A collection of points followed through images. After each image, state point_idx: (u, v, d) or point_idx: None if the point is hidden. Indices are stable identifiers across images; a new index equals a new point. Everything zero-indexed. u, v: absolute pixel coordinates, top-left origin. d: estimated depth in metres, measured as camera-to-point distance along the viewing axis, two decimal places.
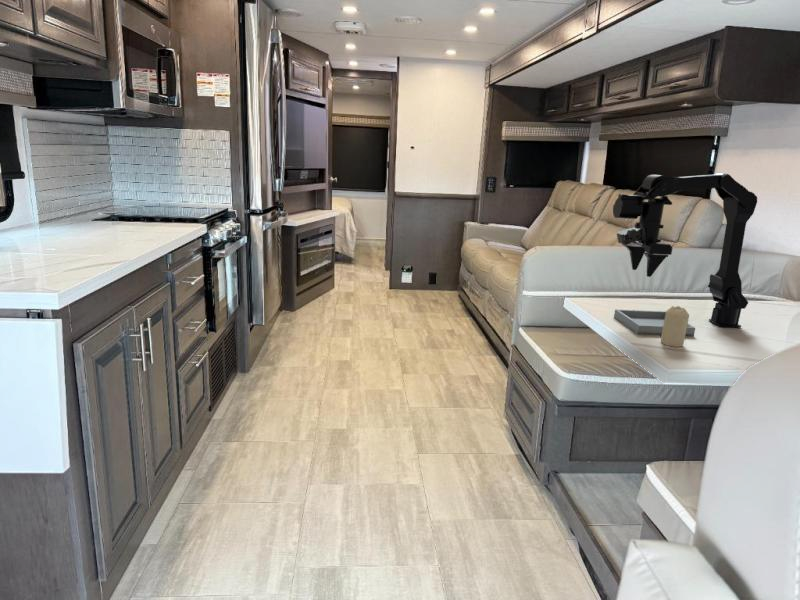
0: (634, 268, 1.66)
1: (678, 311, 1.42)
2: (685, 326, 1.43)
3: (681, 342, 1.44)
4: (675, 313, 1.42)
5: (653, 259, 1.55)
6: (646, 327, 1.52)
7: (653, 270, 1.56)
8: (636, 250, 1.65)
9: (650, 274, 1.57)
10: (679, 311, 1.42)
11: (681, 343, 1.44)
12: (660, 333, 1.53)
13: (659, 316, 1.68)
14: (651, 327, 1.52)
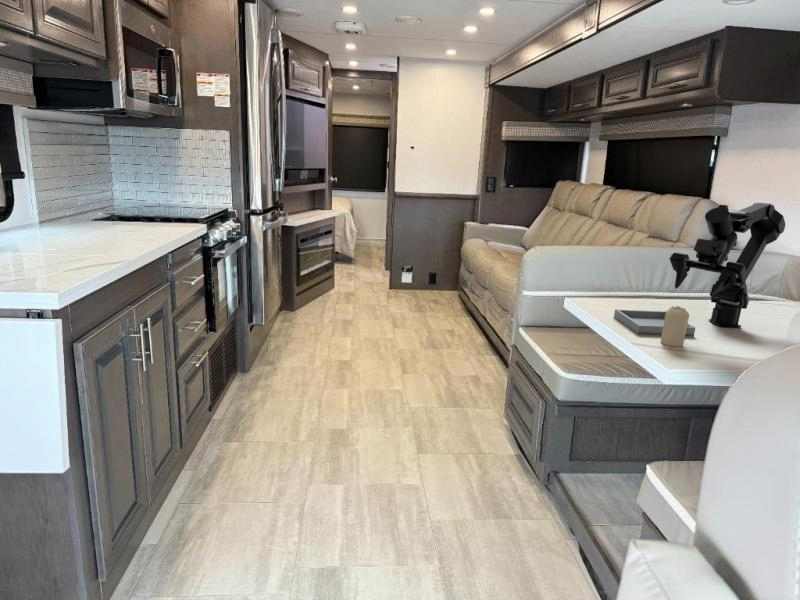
0: (677, 286, 1.51)
1: (678, 311, 1.42)
2: (685, 326, 1.43)
3: (681, 342, 1.44)
4: (675, 313, 1.42)
5: (724, 280, 1.44)
6: (646, 327, 1.52)
7: (717, 291, 1.44)
8: (684, 271, 1.53)
9: (713, 294, 1.44)
10: (679, 311, 1.42)
11: (681, 343, 1.44)
12: (660, 333, 1.53)
13: (659, 316, 1.68)
14: (651, 327, 1.52)
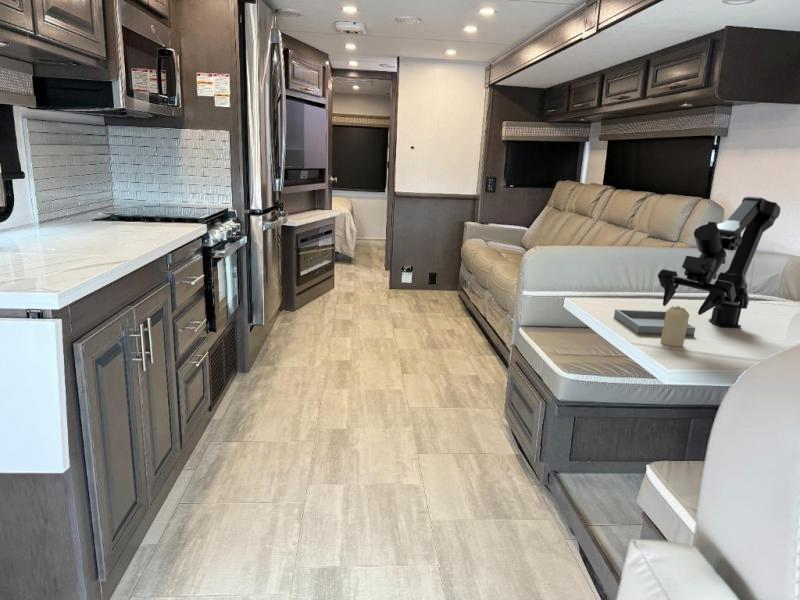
0: (665, 303, 1.48)
1: (678, 311, 1.42)
2: (685, 326, 1.43)
3: (681, 342, 1.44)
4: (675, 313, 1.42)
5: (712, 299, 1.42)
6: (646, 327, 1.52)
7: (705, 310, 1.42)
8: (672, 288, 1.50)
9: (701, 312, 1.41)
10: (679, 311, 1.42)
11: (681, 343, 1.44)
12: (660, 333, 1.53)
13: (659, 316, 1.68)
14: (651, 327, 1.52)
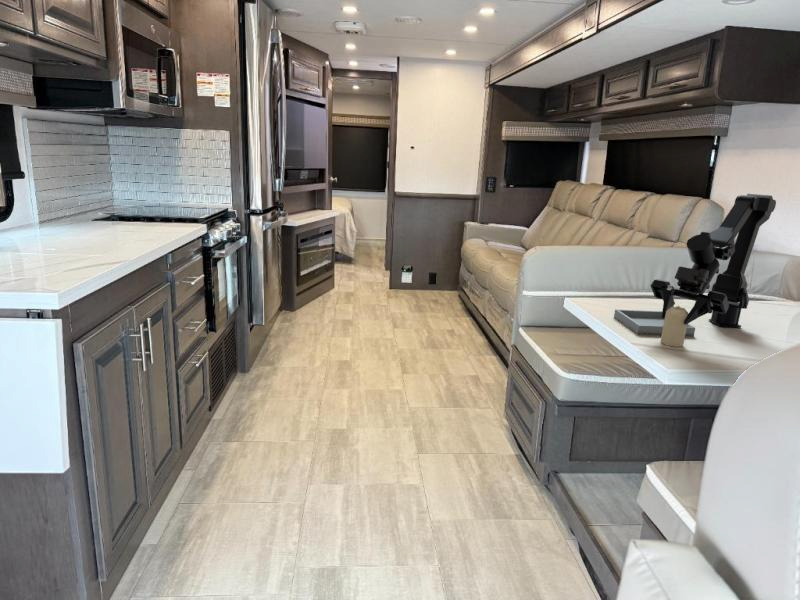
0: (664, 316, 1.46)
1: (678, 311, 1.42)
2: (685, 326, 1.43)
3: (681, 342, 1.44)
4: (675, 313, 1.42)
5: (698, 308, 1.42)
6: (646, 327, 1.52)
7: (691, 319, 1.42)
8: (671, 300, 1.47)
9: (687, 322, 1.41)
10: (679, 311, 1.42)
11: (681, 343, 1.44)
12: (660, 333, 1.53)
13: (659, 316, 1.68)
14: (651, 327, 1.52)
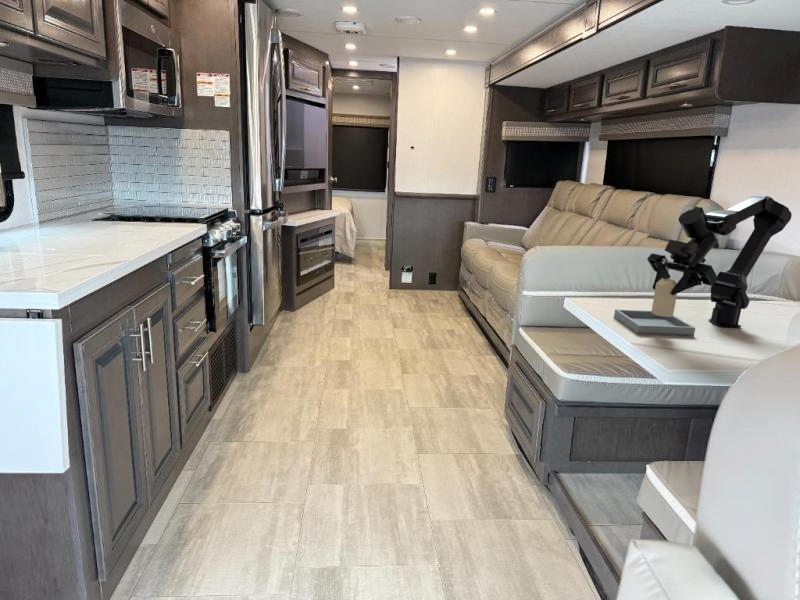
0: (654, 287, 1.53)
1: (666, 282, 1.49)
2: (673, 297, 1.49)
3: (670, 313, 1.50)
4: (663, 284, 1.49)
5: (686, 280, 1.47)
6: (646, 327, 1.52)
7: (679, 290, 1.48)
8: (664, 272, 1.54)
9: (674, 292, 1.48)
10: (667, 282, 1.49)
11: (669, 313, 1.50)
12: (660, 333, 1.53)
13: (659, 316, 1.68)
14: (651, 327, 1.52)
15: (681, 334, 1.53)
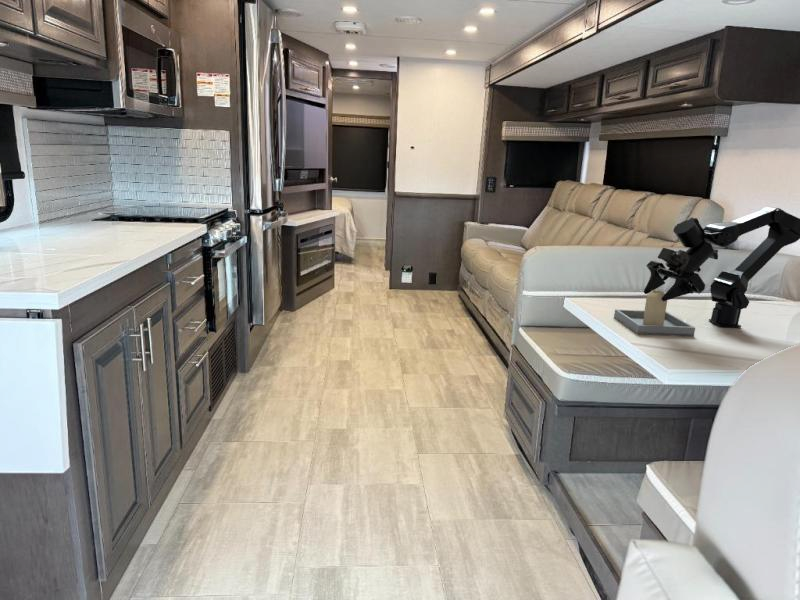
0: (645, 292, 1.61)
1: (654, 294, 1.57)
2: (661, 308, 1.57)
3: (658, 323, 1.58)
4: (651, 296, 1.57)
5: (678, 288, 1.53)
6: (646, 327, 1.52)
7: (670, 297, 1.54)
8: (657, 278, 1.62)
9: (665, 299, 1.54)
10: (655, 294, 1.57)
11: (658, 323, 1.58)
12: (660, 333, 1.53)
13: None
14: (651, 327, 1.52)
15: (681, 334, 1.53)
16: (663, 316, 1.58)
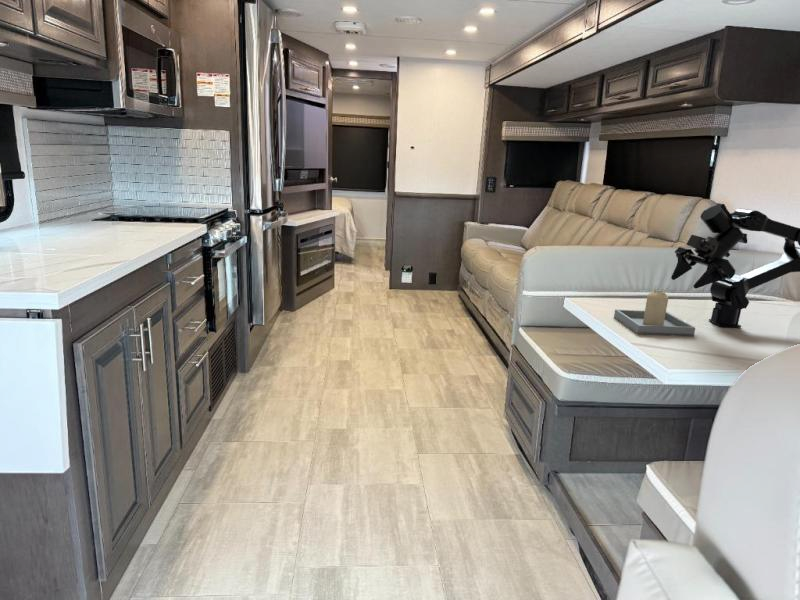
0: (673, 278, 1.64)
1: (655, 294, 1.57)
2: (662, 308, 1.57)
3: (658, 323, 1.58)
4: (652, 296, 1.57)
5: (710, 275, 1.54)
6: (646, 327, 1.52)
7: (702, 284, 1.55)
8: (684, 264, 1.64)
9: (697, 286, 1.56)
10: (656, 294, 1.57)
11: (658, 324, 1.58)
12: (660, 333, 1.53)
13: None
14: (651, 327, 1.52)
15: (681, 334, 1.53)
16: (663, 316, 1.58)
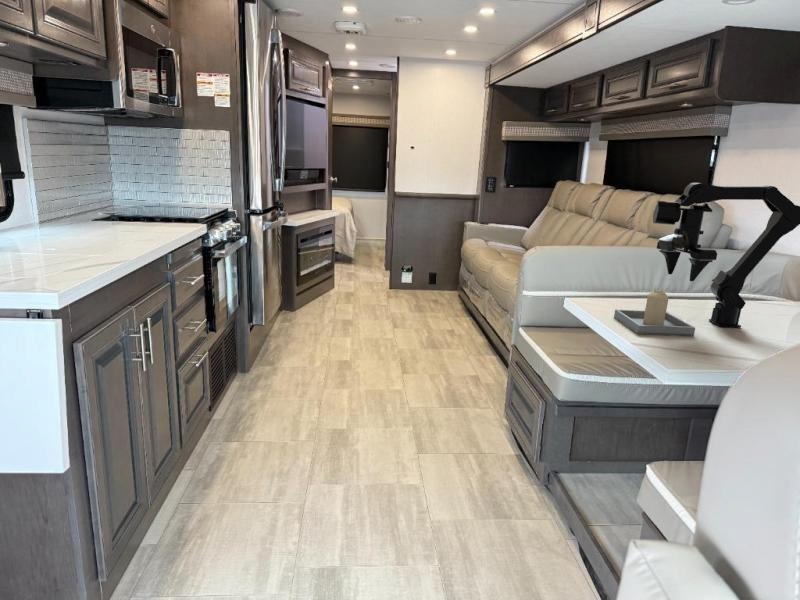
0: (670, 273, 1.71)
1: (655, 294, 1.57)
2: (662, 308, 1.57)
3: (658, 323, 1.58)
4: (652, 296, 1.57)
5: (697, 264, 1.60)
6: (646, 327, 1.52)
7: (696, 275, 1.61)
8: (672, 255, 1.70)
9: (693, 279, 1.62)
10: (656, 294, 1.57)
11: (658, 324, 1.58)
12: (660, 333, 1.53)
13: None
14: (651, 327, 1.52)
15: (681, 334, 1.53)
16: (663, 316, 1.58)
